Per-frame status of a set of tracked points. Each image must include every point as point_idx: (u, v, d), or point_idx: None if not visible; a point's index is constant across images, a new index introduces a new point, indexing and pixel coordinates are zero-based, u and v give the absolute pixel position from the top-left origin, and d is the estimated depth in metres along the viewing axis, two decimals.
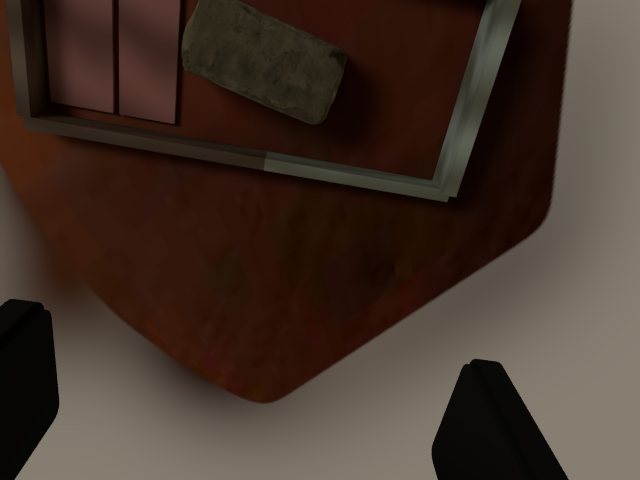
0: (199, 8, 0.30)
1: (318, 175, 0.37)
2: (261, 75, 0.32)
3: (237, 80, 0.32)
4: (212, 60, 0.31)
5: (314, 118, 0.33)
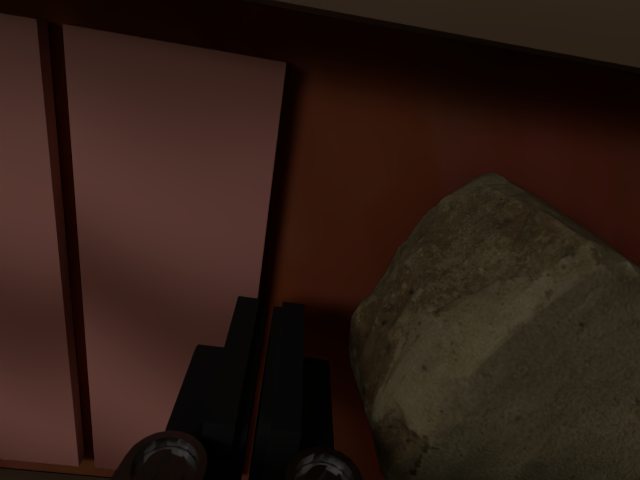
0: (538, 323, 0.07)
1: None
2: None
3: None
4: None
5: None
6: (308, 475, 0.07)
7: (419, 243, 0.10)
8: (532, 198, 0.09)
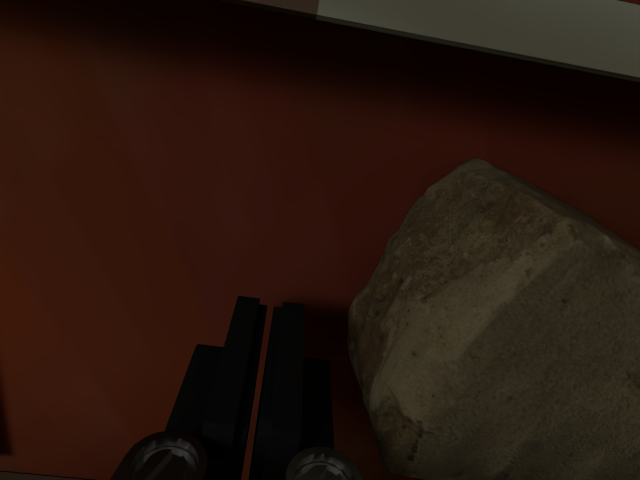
0: (521, 302, 0.07)
1: None
2: None
3: None
4: (505, 464, 0.08)
5: None
6: (308, 475, 0.07)
7: (408, 232, 0.10)
8: (514, 180, 0.09)
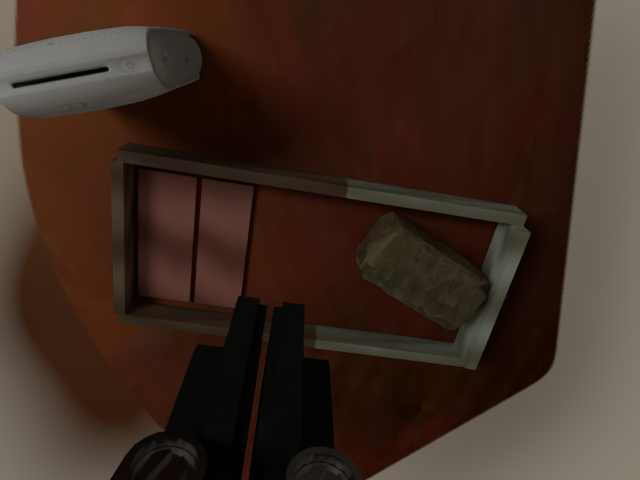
0: (392, 241, 0.37)
1: (360, 350, 0.45)
2: (424, 293, 0.39)
3: (404, 293, 0.39)
4: (389, 277, 0.38)
5: (453, 326, 0.41)
6: (308, 475, 0.07)
7: (374, 228, 0.40)
8: (398, 218, 0.39)
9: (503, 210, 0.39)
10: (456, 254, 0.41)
